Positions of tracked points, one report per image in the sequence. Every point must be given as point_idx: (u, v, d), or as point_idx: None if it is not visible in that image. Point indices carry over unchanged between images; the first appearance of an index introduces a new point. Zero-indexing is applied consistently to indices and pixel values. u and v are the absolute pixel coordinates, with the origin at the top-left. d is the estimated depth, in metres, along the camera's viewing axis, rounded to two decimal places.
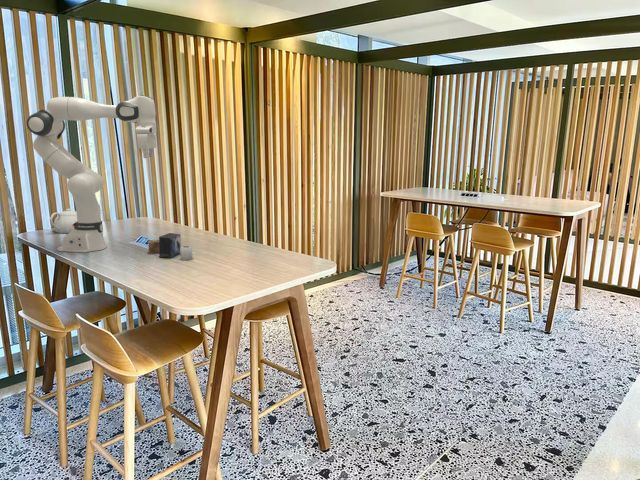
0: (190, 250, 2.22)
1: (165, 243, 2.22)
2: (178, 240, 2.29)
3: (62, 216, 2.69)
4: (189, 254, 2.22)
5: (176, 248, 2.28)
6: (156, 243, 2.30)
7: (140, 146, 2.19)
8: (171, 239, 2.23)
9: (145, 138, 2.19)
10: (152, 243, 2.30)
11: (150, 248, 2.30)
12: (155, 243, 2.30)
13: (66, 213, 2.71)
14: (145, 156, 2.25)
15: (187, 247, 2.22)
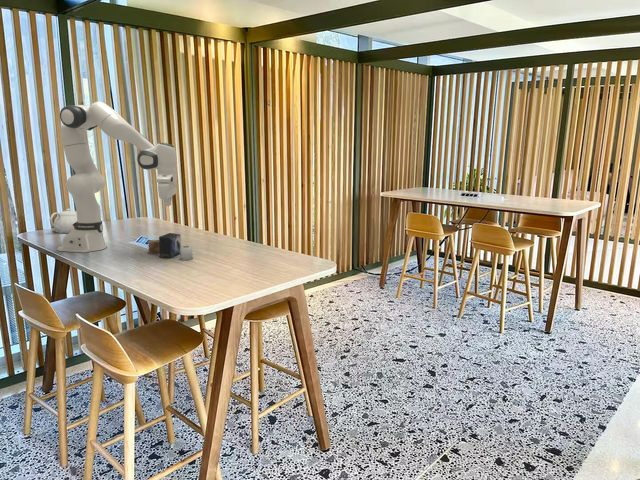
0: (190, 250, 2.22)
1: (165, 243, 2.22)
2: (178, 240, 2.29)
3: (62, 216, 2.69)
4: (189, 254, 2.22)
5: (176, 248, 2.28)
6: (156, 243, 2.30)
7: (161, 196, 2.12)
8: (171, 239, 2.23)
9: (166, 188, 2.12)
10: (152, 243, 2.30)
11: (150, 248, 2.30)
12: (155, 243, 2.30)
13: (66, 213, 2.71)
14: (168, 204, 2.22)
15: (187, 247, 2.22)
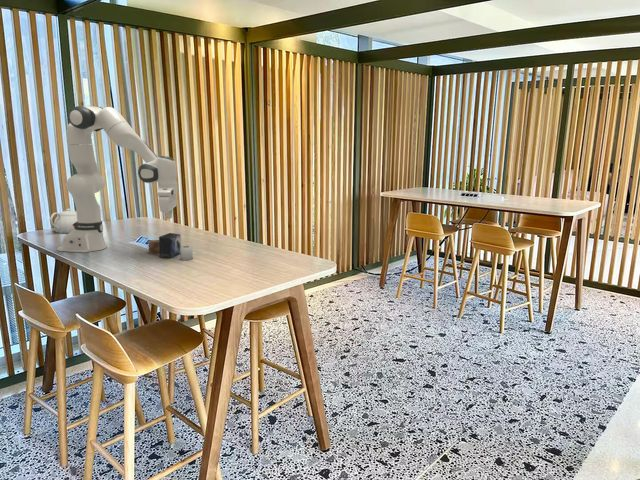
0: (190, 250, 2.22)
1: (165, 243, 2.22)
2: (178, 240, 2.29)
3: (62, 216, 2.69)
4: (189, 254, 2.22)
5: (176, 248, 2.28)
6: (156, 243, 2.30)
7: (162, 209, 2.14)
8: (171, 239, 2.23)
9: (167, 201, 2.14)
10: (152, 243, 2.30)
11: (150, 248, 2.30)
12: (155, 243, 2.30)
13: (66, 213, 2.71)
14: (168, 217, 2.23)
15: (187, 247, 2.22)
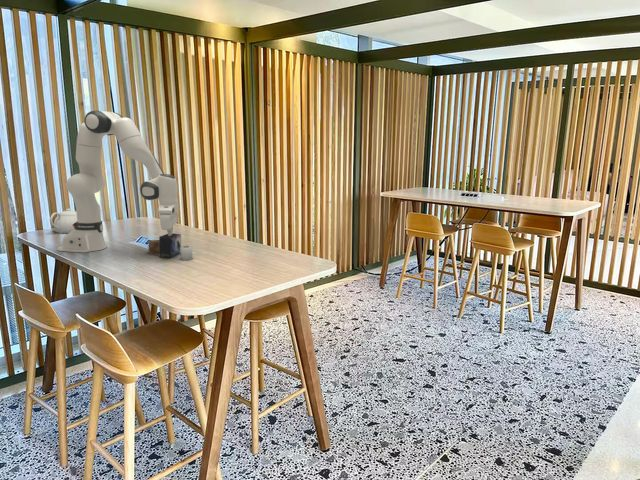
0: (190, 250, 2.22)
1: (165, 243, 2.22)
2: (178, 240, 2.29)
3: (62, 216, 2.69)
4: (189, 254, 2.22)
5: (176, 248, 2.28)
6: (156, 243, 2.30)
7: (163, 227, 2.16)
8: (171, 239, 2.23)
9: (168, 219, 2.15)
10: (152, 243, 2.30)
11: (150, 248, 2.30)
12: (155, 243, 2.30)
13: (66, 213, 2.71)
14: (169, 234, 2.25)
15: (187, 247, 2.22)
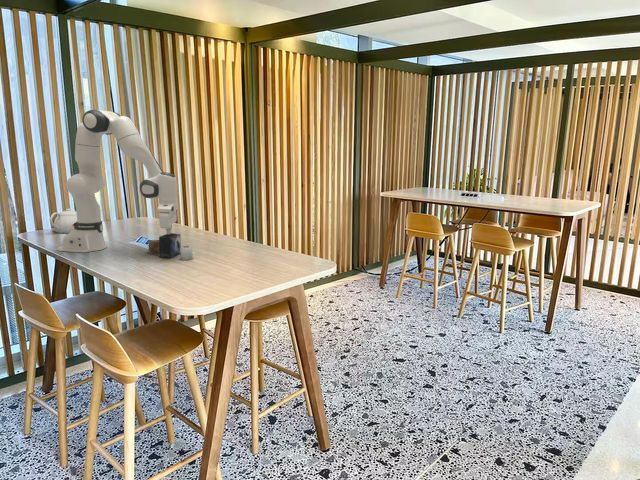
0: (190, 250, 2.22)
1: (165, 243, 2.22)
2: (178, 240, 2.29)
3: (62, 216, 2.69)
4: (189, 254, 2.22)
5: (176, 248, 2.28)
6: (156, 243, 2.30)
7: (162, 226, 2.16)
8: (171, 239, 2.23)
9: (167, 218, 2.15)
10: (152, 243, 2.30)
11: (150, 248, 2.30)
12: (155, 243, 2.30)
13: (66, 213, 2.71)
14: (168, 232, 2.25)
15: (187, 247, 2.22)
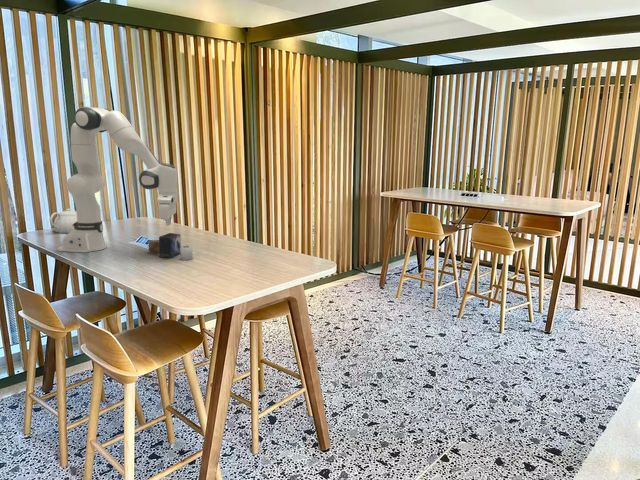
0: (190, 250, 2.22)
1: (165, 243, 2.22)
2: (178, 240, 2.29)
3: (62, 216, 2.69)
4: (189, 254, 2.22)
5: (176, 248, 2.28)
6: (156, 243, 2.30)
7: (161, 217, 2.15)
8: (171, 239, 2.23)
9: (167, 209, 2.14)
10: (152, 243, 2.30)
11: (150, 248, 2.30)
12: (155, 243, 2.30)
13: (66, 213, 2.71)
14: (167, 224, 2.24)
15: (187, 247, 2.22)
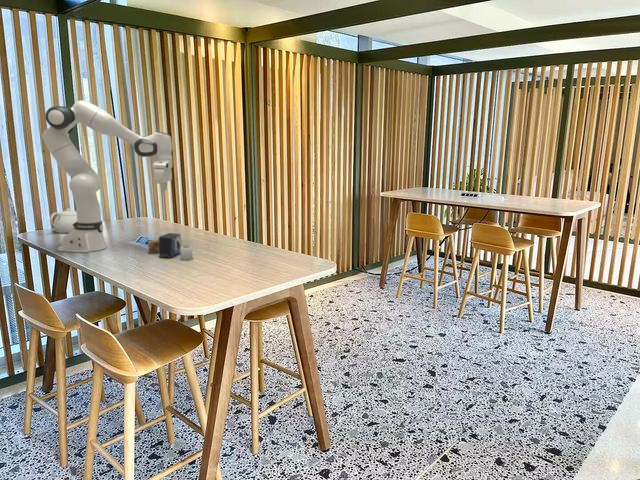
0: (190, 250, 2.22)
1: (165, 243, 2.22)
2: (178, 240, 2.29)
3: (62, 216, 2.69)
4: (189, 254, 2.22)
5: (176, 248, 2.28)
6: (156, 243, 2.30)
7: (157, 181, 2.29)
8: (171, 239, 2.23)
9: (162, 173, 2.29)
10: (152, 243, 2.30)
11: (150, 248, 2.30)
12: (155, 243, 2.30)
13: (66, 213, 2.71)
14: (163, 189, 2.39)
15: (187, 247, 2.22)
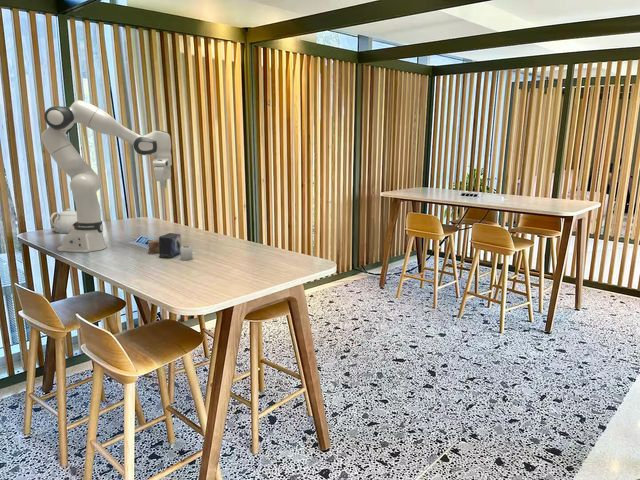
0: (190, 250, 2.22)
1: (164, 243, 2.22)
2: (178, 240, 2.29)
3: (62, 216, 2.69)
4: (189, 254, 2.22)
5: (176, 248, 2.28)
6: (156, 243, 2.30)
7: (157, 179, 2.31)
8: (171, 239, 2.23)
9: (162, 171, 2.31)
10: (152, 243, 2.30)
11: (150, 248, 2.30)
12: (155, 243, 2.30)
13: (66, 213, 2.71)
14: (163, 187, 2.40)
15: (187, 247, 2.22)
